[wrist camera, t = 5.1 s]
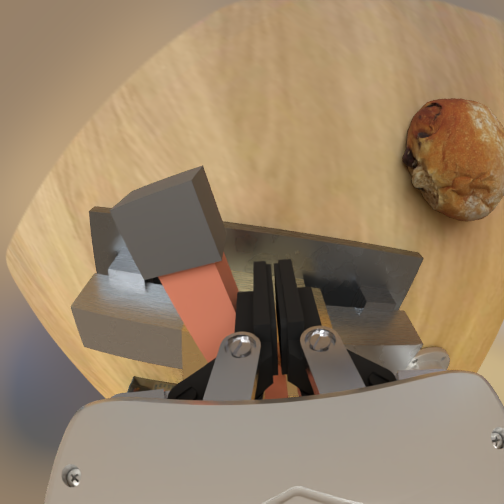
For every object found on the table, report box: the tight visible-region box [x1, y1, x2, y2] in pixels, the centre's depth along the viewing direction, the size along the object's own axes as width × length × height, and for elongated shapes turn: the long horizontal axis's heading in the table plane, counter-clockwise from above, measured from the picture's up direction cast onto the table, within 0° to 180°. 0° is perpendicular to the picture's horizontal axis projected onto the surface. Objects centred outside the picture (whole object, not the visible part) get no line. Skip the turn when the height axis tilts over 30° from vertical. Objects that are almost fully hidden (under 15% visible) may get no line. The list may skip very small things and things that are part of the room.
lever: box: [109, 166, 288, 399], centre depth 13 cm, size 15×4×3 cm, turn 16°
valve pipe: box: [71, 207, 423, 396], centre depth 20 cm, size 28×13×8 cm, turn 81°
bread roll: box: [402, 98, 504, 221], centre depth 16 cm, size 10×10×8 cm
